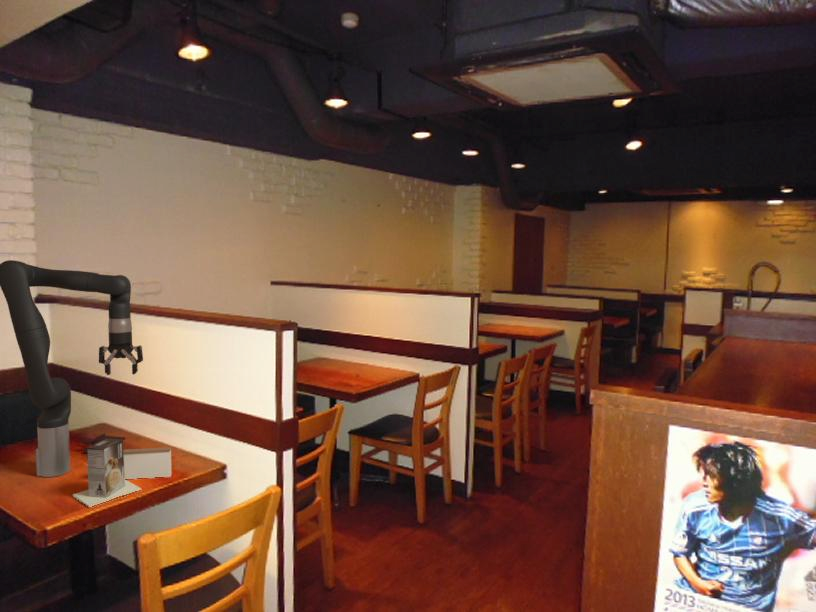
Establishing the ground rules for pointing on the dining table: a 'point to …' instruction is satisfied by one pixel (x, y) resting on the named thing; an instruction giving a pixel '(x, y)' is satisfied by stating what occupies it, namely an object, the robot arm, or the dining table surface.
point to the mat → (93, 501)
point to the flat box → (147, 463)
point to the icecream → (98, 440)
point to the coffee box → (105, 467)
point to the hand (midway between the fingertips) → (121, 374)
